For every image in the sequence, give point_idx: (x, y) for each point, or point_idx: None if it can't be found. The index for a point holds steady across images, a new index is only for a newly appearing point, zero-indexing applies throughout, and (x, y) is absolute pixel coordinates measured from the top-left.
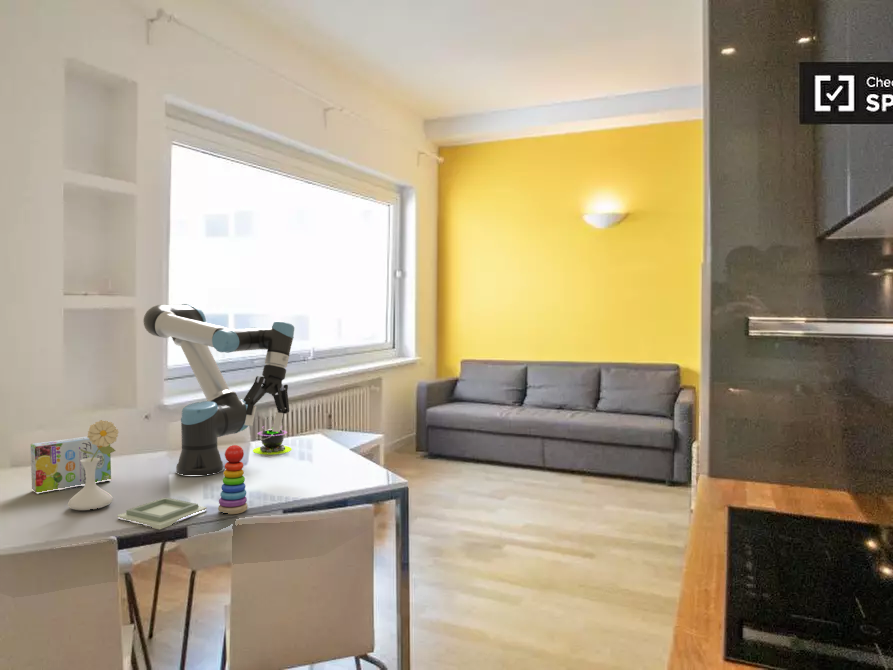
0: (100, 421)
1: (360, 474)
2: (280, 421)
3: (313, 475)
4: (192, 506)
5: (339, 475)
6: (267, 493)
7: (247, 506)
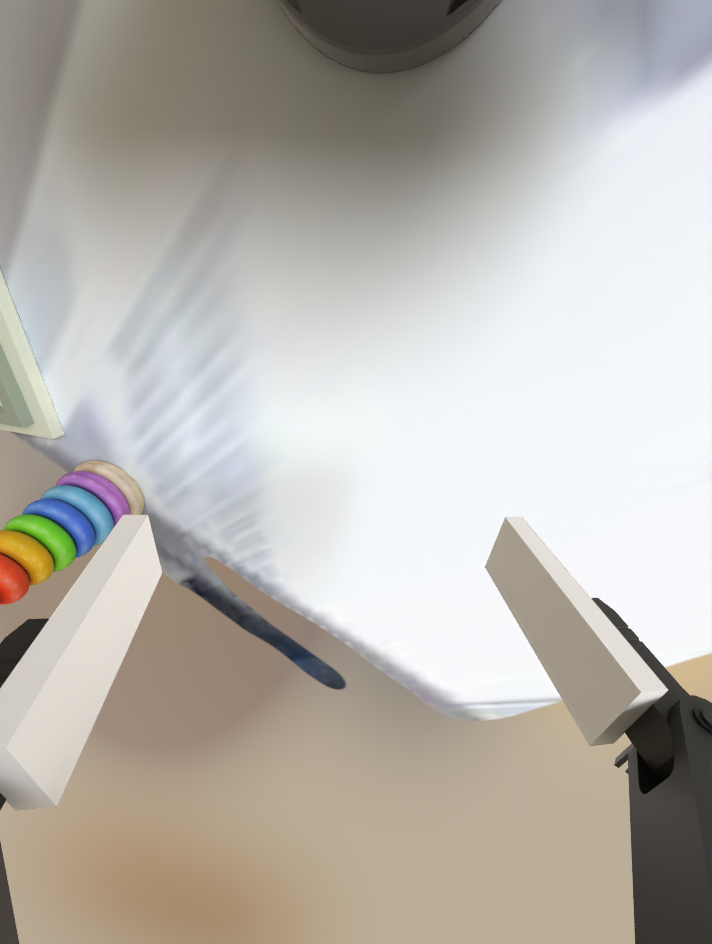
0: None
1: None
2: (532, 645)
3: None
4: (5, 423)
5: None
6: (260, 498)
7: None
